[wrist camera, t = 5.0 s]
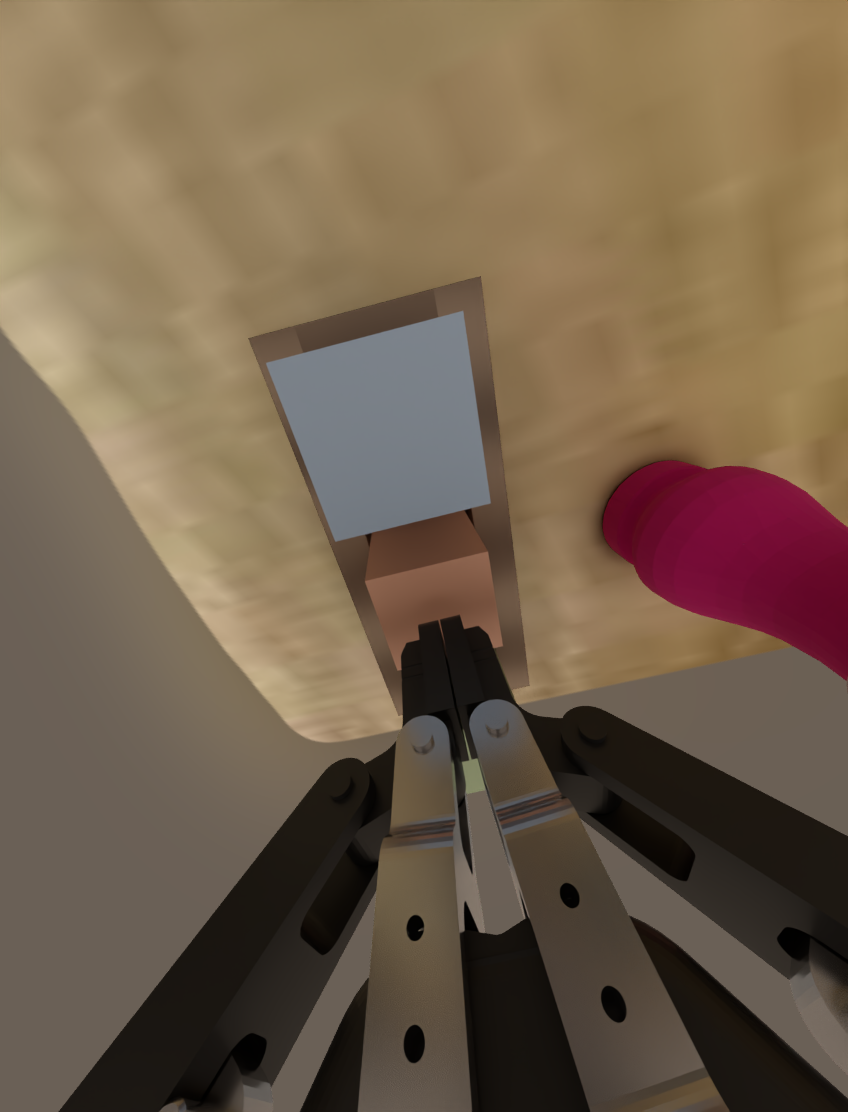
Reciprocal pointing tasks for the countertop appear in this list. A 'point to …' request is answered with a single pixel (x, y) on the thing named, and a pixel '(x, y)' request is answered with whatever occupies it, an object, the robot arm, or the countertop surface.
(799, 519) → the pepper mill
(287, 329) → the walnut board
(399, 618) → the terracotta block
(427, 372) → the slate block
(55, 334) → the countertop surface
